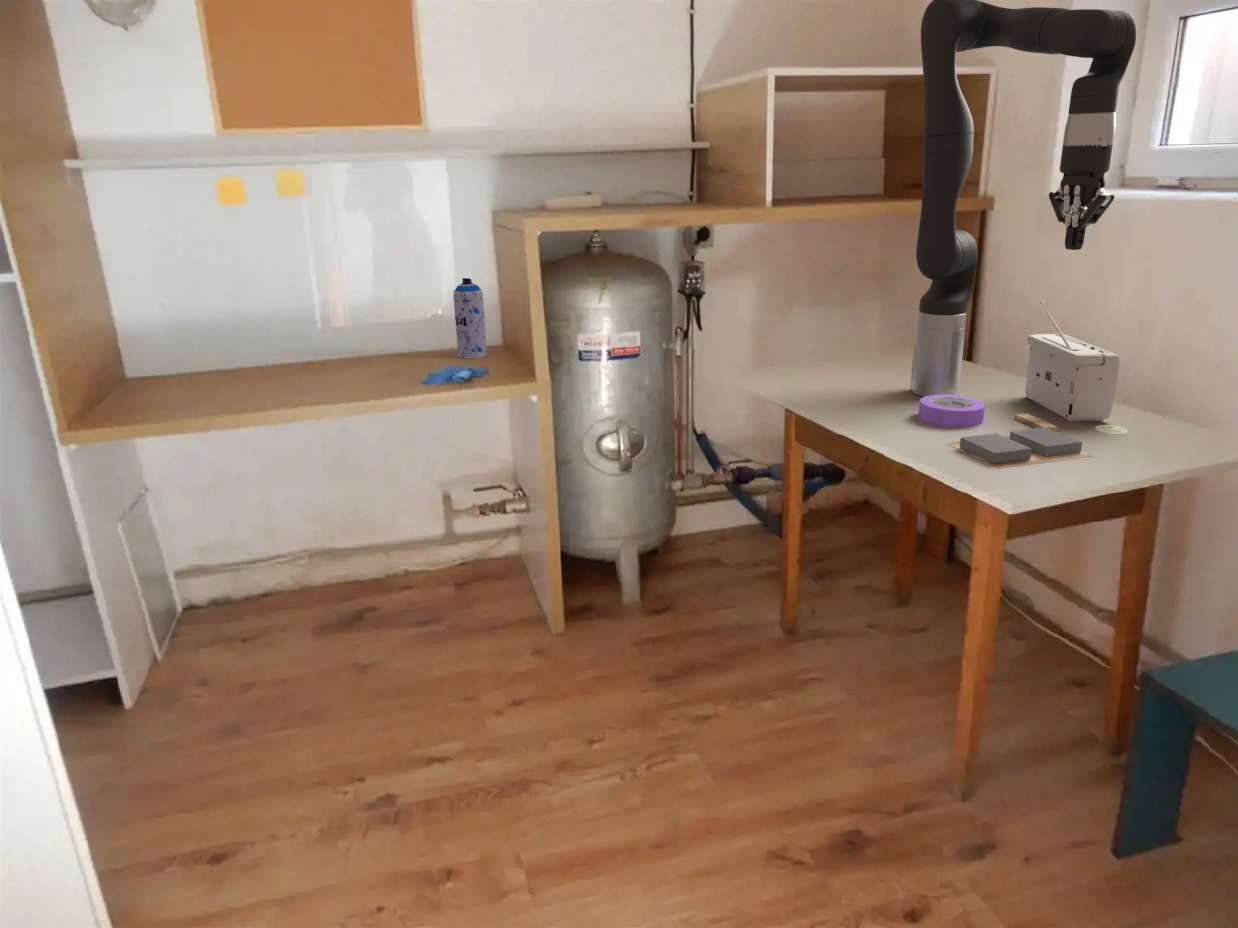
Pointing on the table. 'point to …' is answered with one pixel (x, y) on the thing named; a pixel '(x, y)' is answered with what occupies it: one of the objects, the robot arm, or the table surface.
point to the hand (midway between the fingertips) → (1073, 249)
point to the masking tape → (951, 410)
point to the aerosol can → (470, 320)
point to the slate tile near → (995, 448)
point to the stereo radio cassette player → (1071, 376)
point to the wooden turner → (1034, 421)
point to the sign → (1111, 429)
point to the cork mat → (1034, 459)
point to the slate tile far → (1046, 441)
